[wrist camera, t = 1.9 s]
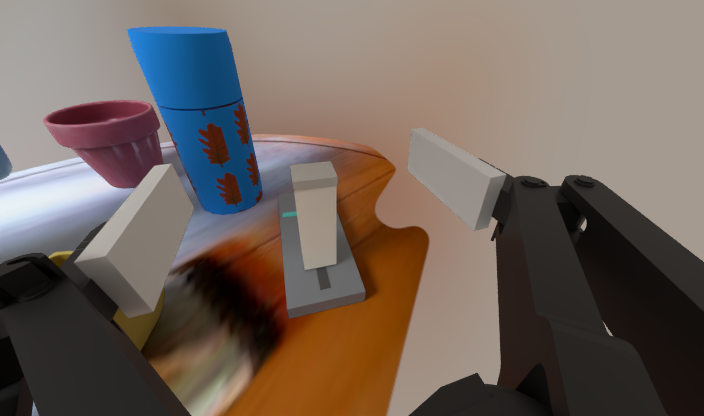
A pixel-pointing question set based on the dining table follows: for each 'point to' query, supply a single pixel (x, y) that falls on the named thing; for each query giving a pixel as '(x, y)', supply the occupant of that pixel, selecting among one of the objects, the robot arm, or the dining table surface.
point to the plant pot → (111, 138)
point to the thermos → (202, 111)
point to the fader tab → (316, 212)
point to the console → (315, 269)
